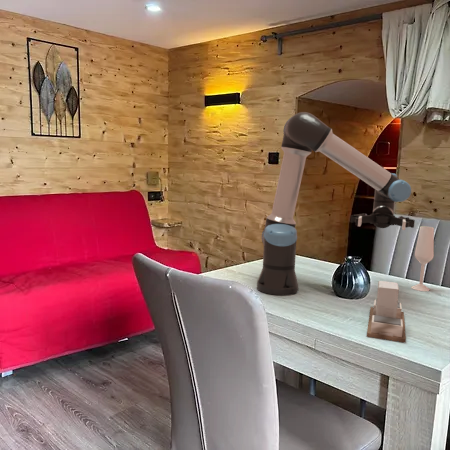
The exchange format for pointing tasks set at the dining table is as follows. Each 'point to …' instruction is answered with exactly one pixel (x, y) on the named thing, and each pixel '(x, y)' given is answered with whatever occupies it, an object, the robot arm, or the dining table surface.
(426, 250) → the champagne flute
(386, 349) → the dining table surface
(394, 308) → the small box
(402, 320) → the board
